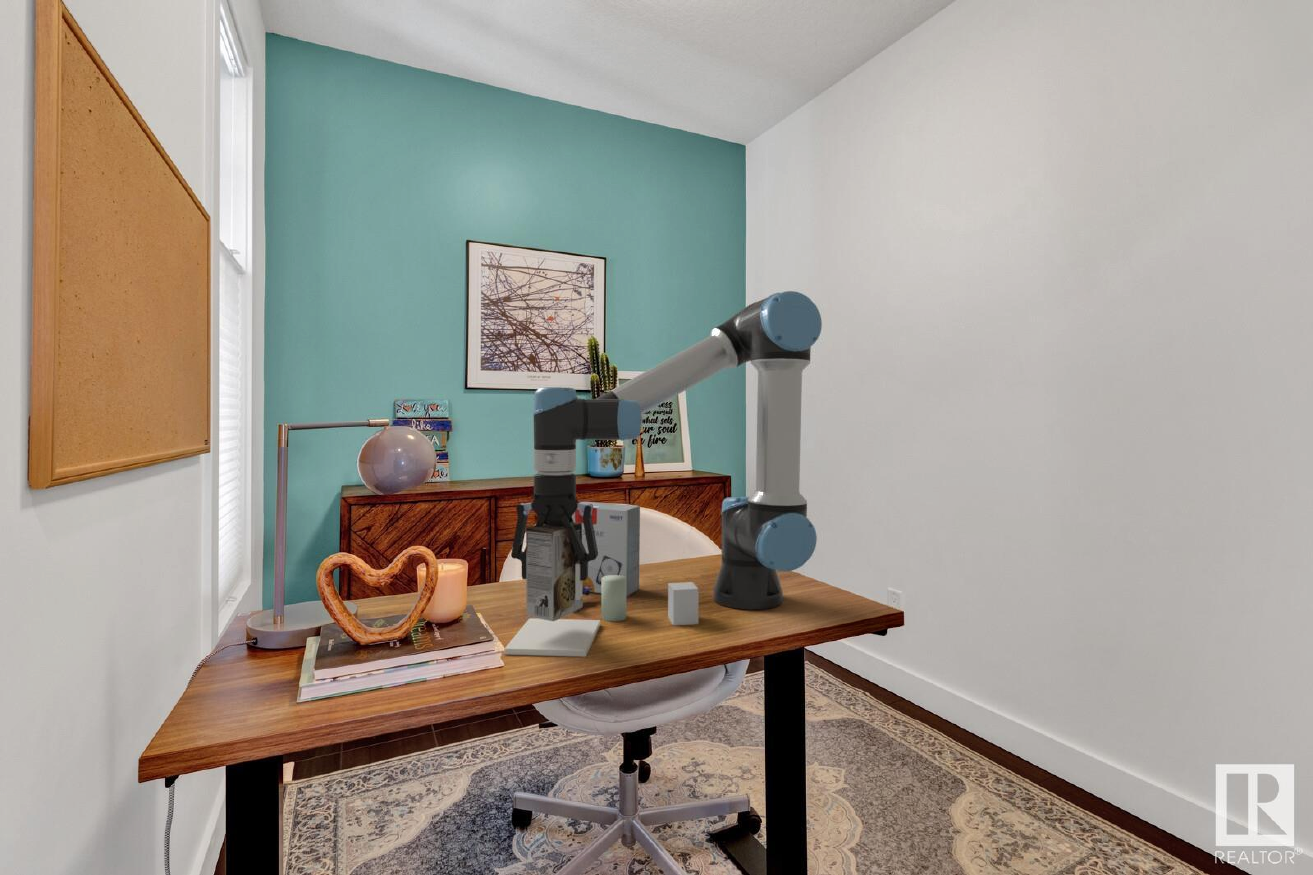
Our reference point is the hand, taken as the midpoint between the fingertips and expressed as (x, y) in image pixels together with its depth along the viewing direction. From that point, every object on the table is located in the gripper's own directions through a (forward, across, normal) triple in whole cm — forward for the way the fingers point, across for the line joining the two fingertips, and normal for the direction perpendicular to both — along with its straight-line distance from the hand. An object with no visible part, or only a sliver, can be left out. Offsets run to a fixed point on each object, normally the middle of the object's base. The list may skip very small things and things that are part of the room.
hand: (554, 597), depth 115 cm
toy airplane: (+8, -2, +19) cm, 21 cm away
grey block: (+8, +23, +12) cm, 27 cm away
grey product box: (+3, 0, 0) cm, 3 cm away
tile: (+8, 0, 0) cm, 8 cm away
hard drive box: (+8, +4, +33) cm, 34 cm away
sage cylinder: (+8, +9, +13) cm, 18 cm away
